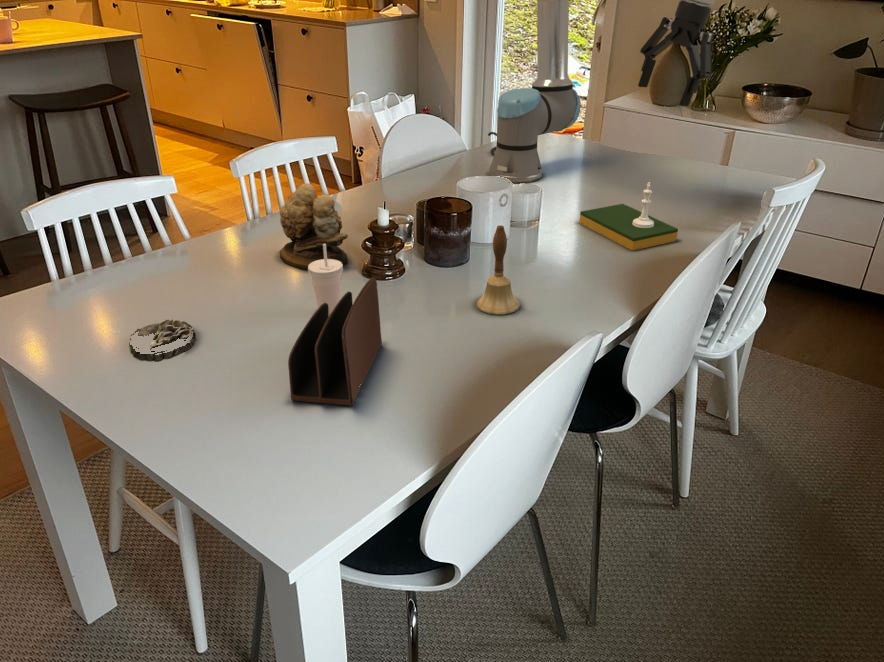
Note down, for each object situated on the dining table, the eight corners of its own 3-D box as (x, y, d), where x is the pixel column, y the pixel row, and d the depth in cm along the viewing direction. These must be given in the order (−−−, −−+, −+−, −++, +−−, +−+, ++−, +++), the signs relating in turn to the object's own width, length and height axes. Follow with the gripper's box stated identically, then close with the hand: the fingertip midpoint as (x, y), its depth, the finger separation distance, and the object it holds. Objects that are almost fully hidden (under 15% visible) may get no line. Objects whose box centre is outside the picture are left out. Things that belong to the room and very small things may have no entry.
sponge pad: (579, 223, 183) (580, 211, 182) (621, 215, 188) (622, 203, 187) (632, 250, 168) (633, 238, 167) (676, 241, 173) (678, 228, 172)
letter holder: (382, 344, 131) (378, 270, 124) (353, 407, 114) (347, 325, 107) (327, 340, 132) (320, 266, 125) (290, 401, 115) (280, 320, 108)
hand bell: (467, 306, 144) (469, 227, 136) (493, 292, 149) (496, 215, 141) (502, 319, 139) (506, 238, 131) (528, 304, 145) (532, 225, 136)
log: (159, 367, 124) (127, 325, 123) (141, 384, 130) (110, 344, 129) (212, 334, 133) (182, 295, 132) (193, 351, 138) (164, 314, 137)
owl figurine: (364, 259, 164) (359, 182, 155) (328, 277, 155) (321, 198, 146) (303, 242, 172) (295, 169, 163) (266, 259, 164) (256, 182, 155)
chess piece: (652, 221, 176) (658, 179, 171) (655, 228, 172) (661, 186, 167) (631, 220, 176) (636, 178, 171) (633, 227, 172) (639, 185, 167)
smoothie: (318, 323, 138) (311, 252, 131) (307, 309, 143) (300, 240, 135) (351, 315, 140) (346, 246, 133) (339, 302, 145) (334, 234, 138)
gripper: (646, -13, 176) (616, 78, 188) (730, 16, 161) (692, 113, 173) (666, -10, 181) (635, 79, 192) (749, 19, 165) (711, 113, 177)
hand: (662, 96), depth 183 cm, fingers open, 13 cm apart
